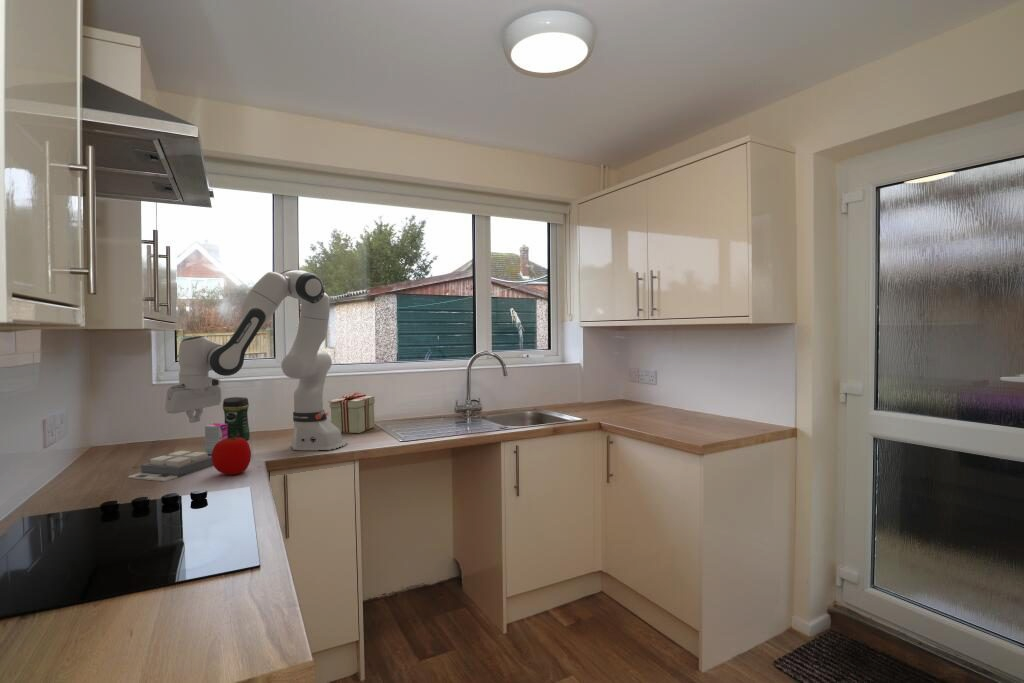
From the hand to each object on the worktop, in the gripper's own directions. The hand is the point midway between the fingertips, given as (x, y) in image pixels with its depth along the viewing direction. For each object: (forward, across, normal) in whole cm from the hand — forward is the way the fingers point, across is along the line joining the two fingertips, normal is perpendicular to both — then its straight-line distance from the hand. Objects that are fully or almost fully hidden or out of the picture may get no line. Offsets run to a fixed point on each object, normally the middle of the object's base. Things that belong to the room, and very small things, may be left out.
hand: (194, 422), depth 183 cm
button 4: (+14, 0, 0) cm, 14 cm away
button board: (+16, -6, +3) cm, 17 cm away
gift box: (+16, +68, -19) cm, 72 cm away
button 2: (+14, -7, 0) cm, 15 cm away
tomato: (+16, -3, -19) cm, 25 cm away
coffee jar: (+16, +38, +17) cm, 45 cm away
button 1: (+14, -7, +7) cm, 17 cm away
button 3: (+14, 0, +7) cm, 15 cm away
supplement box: (+16, +17, +7) cm, 24 cm away
